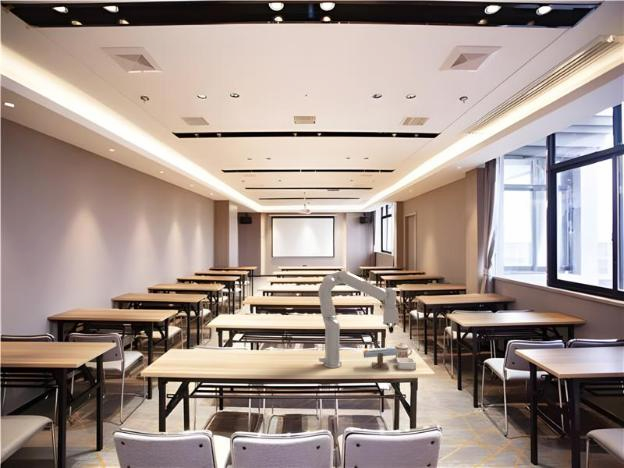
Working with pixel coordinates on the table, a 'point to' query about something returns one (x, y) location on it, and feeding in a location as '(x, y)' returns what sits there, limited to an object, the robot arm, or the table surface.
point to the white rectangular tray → (406, 363)
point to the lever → (380, 352)
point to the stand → (380, 363)
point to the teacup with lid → (402, 351)
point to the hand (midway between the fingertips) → (391, 332)
